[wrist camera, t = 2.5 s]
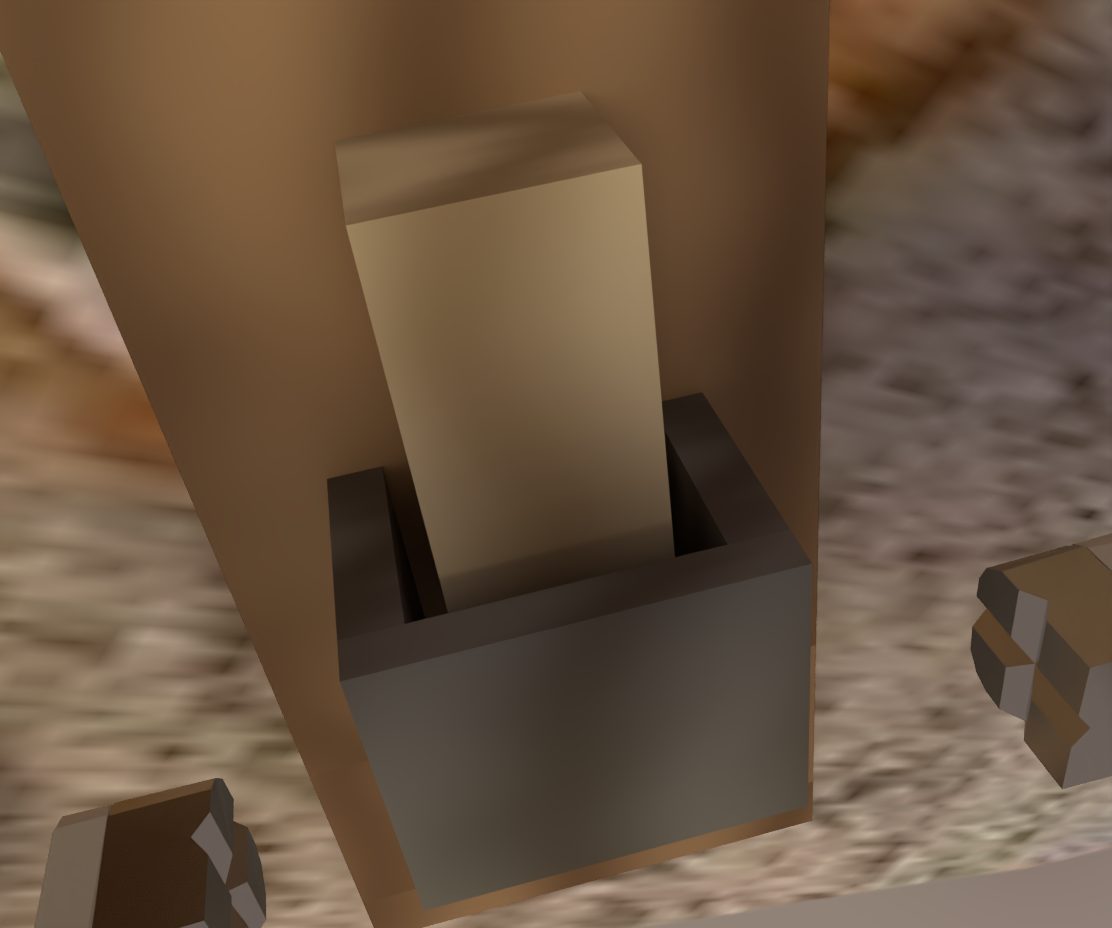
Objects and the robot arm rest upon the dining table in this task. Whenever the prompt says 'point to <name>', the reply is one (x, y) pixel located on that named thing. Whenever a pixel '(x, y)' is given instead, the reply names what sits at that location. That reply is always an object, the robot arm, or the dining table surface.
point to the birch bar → (516, 341)
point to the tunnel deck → (376, 443)
